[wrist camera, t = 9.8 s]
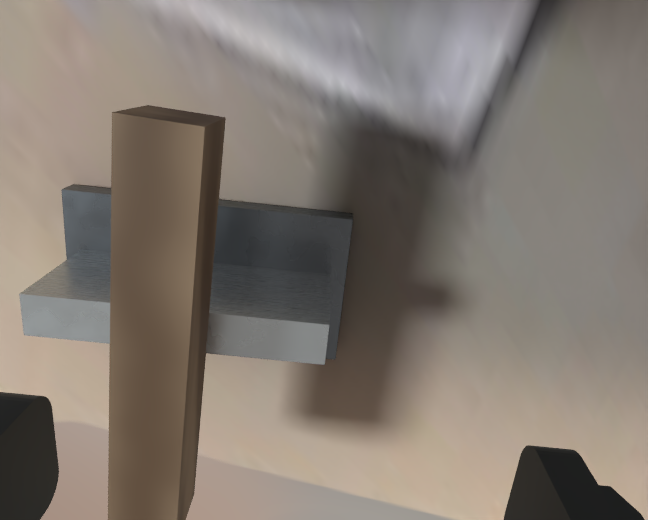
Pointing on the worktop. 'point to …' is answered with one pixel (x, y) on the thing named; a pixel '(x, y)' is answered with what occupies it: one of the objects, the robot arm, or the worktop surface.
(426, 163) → the worktop surface
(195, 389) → the walnut beam
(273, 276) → the stand
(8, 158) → the worktop surface
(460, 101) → the worktop surface
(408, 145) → the worktop surface
